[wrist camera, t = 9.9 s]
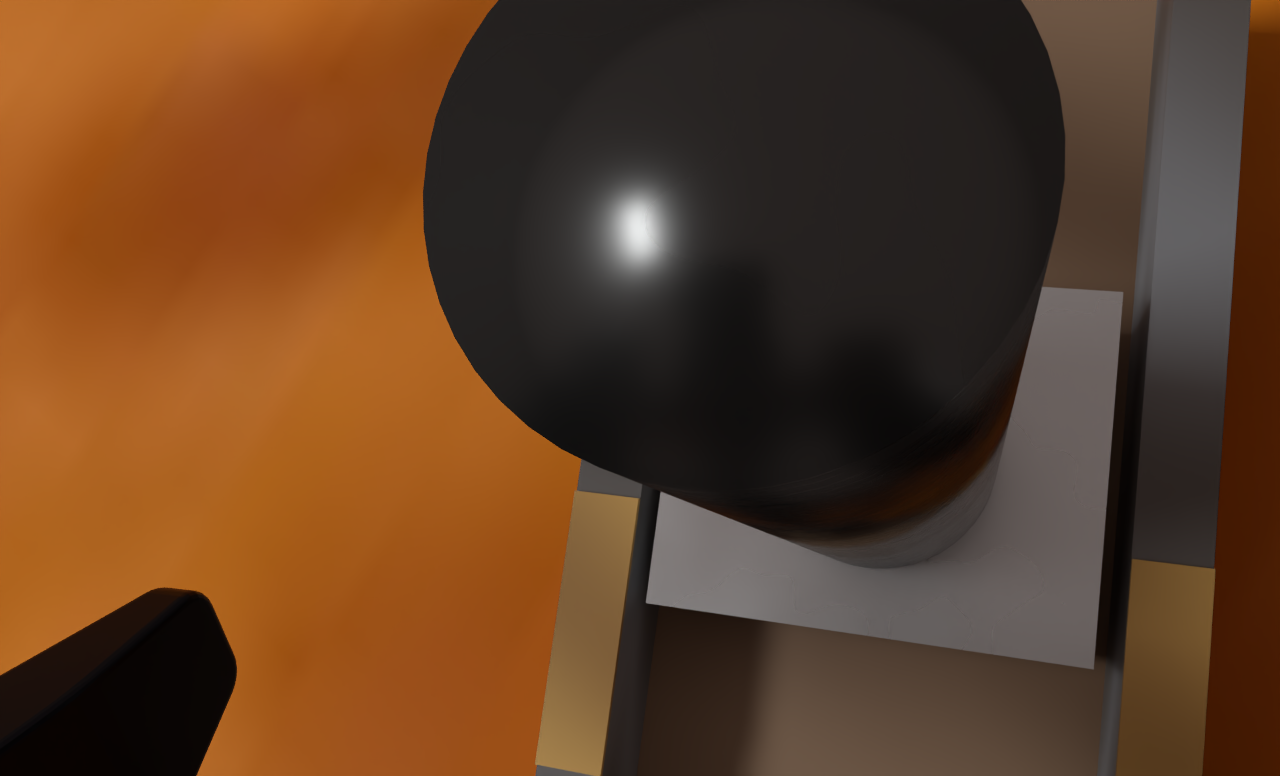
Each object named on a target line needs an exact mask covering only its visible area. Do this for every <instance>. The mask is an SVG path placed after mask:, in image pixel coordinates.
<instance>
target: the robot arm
mask: <svg viewBox="0 0 1280 776" xmlns="http://www.w3.org/2000/svg"><path fill="white" fill-rule="evenodd" d="M236 676H237V665H236V659H235V656H234V654H233V651H232V649H231V647H230V645H229V642H228V640H227V638H226V635H225V633H224V631H223V629H222V626H221V624H220V622H219V619H218V617H217V615H216V613H215V610H214V608H213V606H212V604H211V602H210V600H209V599H208V598H207V597H206V596H205V595H204V594H202V593H200V592H197V591H192V590H183V589H174V588H157V589H154V590H151V591H149V592H147V593H145V594H143V595H142V596H140V597H138V598H136V599H135V600H133V601H131V602H129V603H128V604H126V605H124V606H122V607H120V608H119V609H117V610H115V611H113V612H112V613H110V614H108V615H106V616H105V617H103V618H101V619H99V620H97V621H96V622H94V623H92V624H90V625H89V626H87V627H85V628H83V629H82V630H80V631H78V632H76V633H75V634H73V635H71V636H69V637H67V638H66V639H64V640H62V641H60V642H59V643H57V644H55V645H53V646H52V647H50V648H48V649H46V650H44V651H43V652H41V653H39V654H37V655H36V656H34V657H32V658H30V659H29V660H27V661H25V662H23V663H22V664H20V665H18V666H16V667H14V668H13V669H11V670H9V671H7V672H6V673H4V674H2V675H0V776H196V775H197V773H198V771H199V768H200V766H201V764H202V761H203V759H204V757H205V754H206V752H207V750H208V747H209V745H210V743H211V740H212V738H213V736H214V734H215V731H216V729H217V727H218V724H219V722H220V720H221V717H222V715H223V713H224V710H225V708H226V706H227V703H228V701H229V699H230V696H231V694H232V692H233V689H234V686H235V681H236Z"/></svg>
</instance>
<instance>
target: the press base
mask: <svg viewBox="0 0 1280 776" xmlns="http://www.w3.org/2000/svg"><path fill="white" fill-rule="evenodd" d="M1021 1H1022V2H1023V4H1024V5H1025V7H1026V8H1027V10H1028V11H1029V13H1030V14H1031V16H1032V19H1033V21H1034V23H1035V25H1036V27H1037V29H1038V32H1039V34H1040V36H1041V38H1042V40H1043V42H1044V45H1045V47H1046V49H1047V51H1048V54H1049V57H1050V61H1051V64H1052V68H1053V71H1054V75H1055V78H1056V82H1057V85H1058V89H1059V92H1060V98H1061V106H1062V114H1063V121H1064V129H1065V181H1064V187H1063V193H1062V199H1061V206H1060V212H1059V218H1058V224H1057V228H1056V232H1055V236H1054V240H1053V245H1052V249H1051V253H1050V257H1049V261H1048V265H1047V269H1046V273H1045V278H1044V282H1043V286H1042V287H1052V288H1068V289H1083V290H1099V291H1115V292H1123V303H1122V315H1121V328H1120V341H1119V353H1118V366H1117V379H1116V392H1115V404H1114V417H1113V430H1112V442H1111V455H1110V468H1109V480H1108V493H1107V506H1106V519H1105V531H1104V544H1103V557H1102V569H1101V582H1100V595H1099V607H1098V620H1097V633H1096V646H1095V658H1094V669H1087V668H1081V667H1074V666H1067V665H1060V664H1054V663H1047V662H1040V661H1033V660H1027V659H1020V658H1013V657H1007V656H1000V655H993V654H986V653H980V652H973V651H966V650H959V649H953V648H946V647H939V646H932V645H926V644H919V643H912V642H905V641H899V640H892V639H885V638H878V637H872V636H865V635H858V634H851V633H845V632H838V631H831V630H824V629H818V628H811V627H804V626H798V625H791V624H784V623H777V622H771V621H764V620H757V619H750V618H744V617H737V616H730V615H723V614H717V613H710V612H703V611H696V610H690V609H683V608H676V607H669V606H663V605H656V604H649V603H646V597H647V590H648V582H649V575H650V568H651V560H652V553H653V545H654V538H655V530H656V523H657V516H658V508H659V501H660V493H661V492H660V491H658V490H655V489H653V488H650V487H648V486H645V485H643V484H640V483H637V482H635V481H632V480H630V479H627V478H625V477H622V476H620V475H617V474H614V473H612V472H609V471H607V470H604V469H602V468H599V467H597V466H595V465H593V464H591V463H589V462H587V461H585V460H583V459H582V460H581V467H580V474H579V480H578V487H577V491H575V493H574V500H573V507H572V514H571V521H570V527H569V534H568V541H567V548H566V555H565V562H564V569H563V575H562V582H561V589H560V596H559V603H558V610H557V617H556V624H555V630H554V637H553V644H552V651H551V658H550V665H549V672H548V679H547V685H546V692H545V699H544V706H543V713H542V720H541V727H540V734H539V740H538V747H537V754H536V761H535V764H536V765H537V770H536V776H1202V772H1203V756H1204V741H1205V725H1206V710H1207V694H1208V679H1209V663H1210V648H1211V632H1212V617H1213V601H1214V586H1215V570H1216V569H1214V562H1215V547H1216V531H1217V516H1218V500H1219V485H1220V469H1221V454H1222V439H1223V423H1224V408H1225V392H1226V377H1227V361H1228V346H1229V330H1230V315H1231V300H1232V284H1233V269H1234V253H1235V238H1236V222H1237V207H1238V191H1239V176H1240V161H1241V145H1242V130H1243V114H1244V99H1245V83H1246V68H1247V53H1248V37H1249V22H1250V6H1251V0H1021Z"/></svg>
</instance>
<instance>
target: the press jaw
mask: <svg viewBox="0 0 1280 776" xmlns="http://www.w3.org/2000/svg"><path fill="white" fill-rule="evenodd" d="M1064 181H1065V129H1064V121H1063V114H1062V106H1061V98H1060V92H1059V89H1058V85H1057V82H1056V78H1055V75H1054V71H1053V68H1052V64H1051V61H1050V57H1049V54H1048V51H1047V49H1046V47H1045V45H1044V42H1043V40H1042V38H1041V36H1040V34H1039V32H1038V29H1037V27H1036V25H1035V23H1034V21H1033V19H1032V16H1031V14H1030V13H1029V11H1028V10H1027V8H1026V7H1025V5H1024V4H1023V2H1022V1H1021V0H498V2H497V3H496V4H495V5H494V7H493V8H492V9H491V10H490V11H489V13H488V14H487V15H486V17H485V19H484V20H483V22H482V23H481V25H480V26H479V28H478V29H477V31H476V32H475V34H474V35H473V37H472V38H471V40H470V41H469V43H468V45H467V46H466V48H465V50H464V52H463V54H462V56H461V58H460V60H459V62H458V64H457V66H456V68H455V70H454V72H453V74H452V76H451V78H450V80H449V82H448V85H447V88H446V91H445V93H444V96H443V99H442V102H441V104H440V107H439V110H438V113H437V115H436V119H435V123H434V128H433V132H432V136H431V140H430V145H429V149H428V153H427V161H426V171H425V180H424V189H423V209H424V234H425V241H426V247H427V254H428V261H429V267H430V271H431V274H432V278H433V281H434V285H435V288H436V292H437V295H438V299H439V302H440V305H441V307H442V309H443V312H444V314H445V316H446V319H447V321H448V323H449V325H450V328H451V330H452V332H453V335H454V337H455V339H456V340H457V342H458V344H459V345H460V347H461V348H462V350H463V352H464V353H465V355H466V357H467V358H468V360H469V361H470V363H471V365H472V366H473V368H474V370H475V371H476V372H477V373H478V375H479V376H480V377H481V378H482V379H483V381H484V382H485V383H486V384H487V386H488V387H489V388H490V389H491V390H492V392H493V393H494V394H495V395H496V396H497V398H498V399H499V400H500V401H501V402H502V403H503V404H504V405H505V406H507V407H508V408H509V409H510V410H511V411H512V412H513V413H514V414H515V415H516V416H518V417H519V418H520V419H521V420H522V421H523V422H524V423H525V424H526V425H527V426H529V427H530V428H531V429H533V430H534V431H536V432H537V433H539V434H540V435H542V436H543V437H545V438H546V439H548V440H549V441H550V442H552V443H553V444H555V445H556V446H558V447H559V448H561V449H562V450H564V451H567V452H569V453H571V454H573V455H575V456H577V457H579V458H581V459H583V460H585V461H587V462H589V463H591V464H593V465H595V466H597V467H599V468H602V469H604V470H607V471H609V472H612V473H614V474H617V475H620V476H622V477H625V478H627V479H630V480H632V481H635V482H637V483H640V484H643V485H645V486H648V487H650V488H653V489H655V490H658V491H660V492H661V493H660V501H659V508H658V516H657V523H656V530H655V538H654V545H653V553H652V560H651V568H650V575H649V582H648V590H647V597H646V603H649V604H656V605H663V606H669V607H676V608H683V609H690V610H696V611H703V612H710V613H717V614H723V615H730V616H737V617H744V618H750V619H757V620H764V621H771V622H777V623H784V624H791V625H798V626H804V627H811V628H818V629H824V630H831V631H838V632H845V633H851V634H858V635H865V636H872V637H878V638H885V639H892V640H899V641H905V642H912V643H919V644H926V645H932V646H939V647H946V648H953V649H959V650H966V651H973V652H980V653H986V654H993V655H1000V656H1007V657H1013V658H1020V659H1027V660H1033V661H1040V662H1047V663H1054V664H1060V665H1067V666H1074V667H1081V668H1087V669H1094V658H1095V646H1096V633H1097V620H1098V607H1099V595H1100V582H1101V569H1102V557H1103V544H1104V531H1105V519H1106V506H1107V493H1108V480H1109V468H1110V455H1111V442H1112V430H1113V417H1114V404H1115V392H1116V379H1117V366H1118V353H1119V341H1120V328H1121V315H1122V303H1123V292H1115V291H1099V290H1083V289H1068V288H1052V287H1042V286H1043V282H1044V278H1045V273H1046V269H1047V265H1048V261H1049V257H1050V253H1051V249H1052V245H1053V240H1054V236H1055V232H1056V228H1057V224H1058V218H1059V212H1060V206H1061V199H1062V193H1063V187H1064Z"/></svg>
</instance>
